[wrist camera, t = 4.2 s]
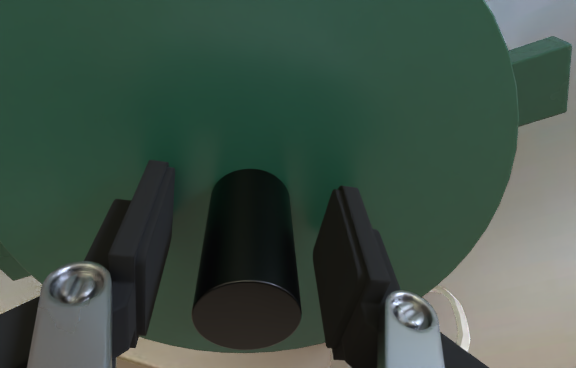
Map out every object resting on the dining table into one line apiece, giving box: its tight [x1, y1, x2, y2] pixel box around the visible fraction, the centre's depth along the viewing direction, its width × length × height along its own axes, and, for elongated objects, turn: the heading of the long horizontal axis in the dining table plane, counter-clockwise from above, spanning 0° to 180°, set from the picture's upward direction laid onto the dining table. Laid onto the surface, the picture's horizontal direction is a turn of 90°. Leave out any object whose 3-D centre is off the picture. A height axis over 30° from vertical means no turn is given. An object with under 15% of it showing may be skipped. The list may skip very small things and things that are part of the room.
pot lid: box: [0, 0, 519, 353], centre depth 12 cm, size 17×17×6 cm
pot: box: [0, 36, 572, 280], centre depth 17 cm, size 16×22×8 cm
